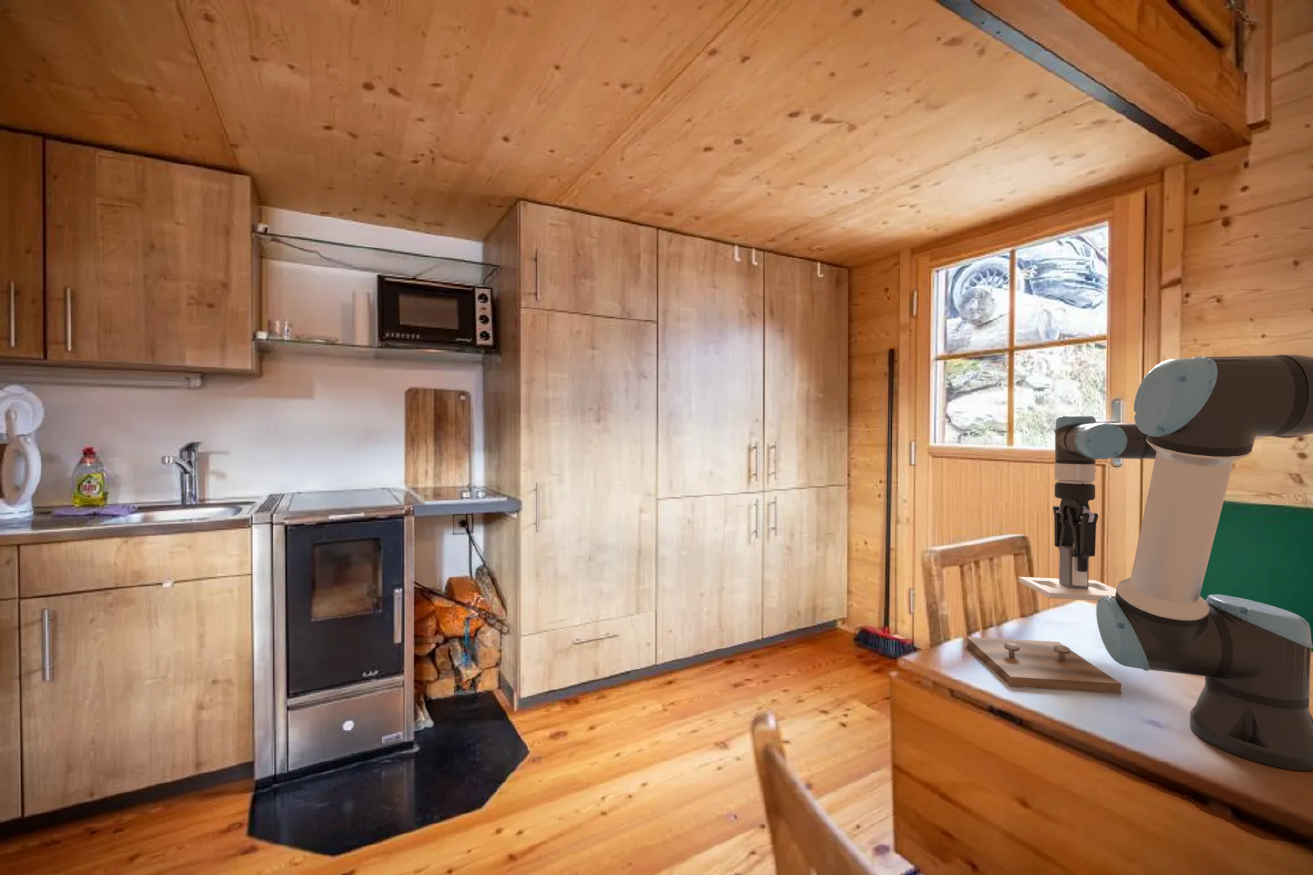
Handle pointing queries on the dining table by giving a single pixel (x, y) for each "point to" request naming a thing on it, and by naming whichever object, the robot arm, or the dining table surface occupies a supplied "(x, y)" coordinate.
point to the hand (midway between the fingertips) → (1073, 582)
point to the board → (1041, 665)
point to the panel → (1068, 591)
